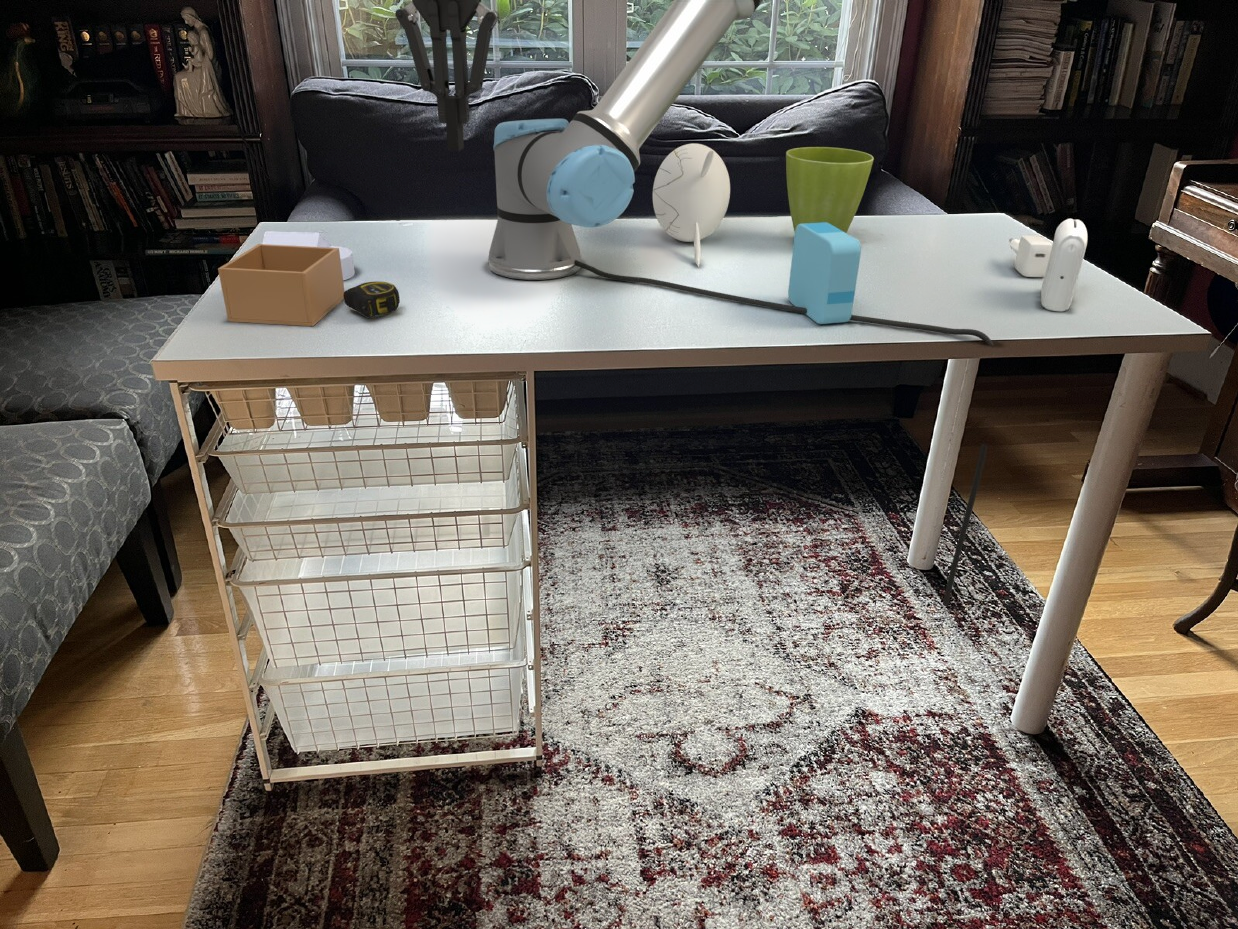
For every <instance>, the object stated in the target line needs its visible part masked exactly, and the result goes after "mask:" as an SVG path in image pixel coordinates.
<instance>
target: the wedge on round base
mask: <svg viewBox="0 0 1238 929" xmlns="http://www.w3.org/2000/svg"><path fill="white" fill-rule="evenodd" d="M261 244H268V245H288V246H308V247H327V248H339V252H340V260H341V268H342V275H343V281H346V280H349V279H351V278H353V277H354V276H355V274H356V272H355V265H354V264H355V263H354V255H353V251H352V250H351V249H350V248H348V247H344V246H336V245H331V244H330V243H329V242H328V241H327V239H326V238H325V237H324V236H323V235H322V233H320V232H311V231H309V232H308V231H272V230H271V231H269V230H268V231H264V235H263V239H262V243H261Z"/></svg>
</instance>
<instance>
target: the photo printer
mask: <svg viewBox="0 0 1238 929" xmlns="http://www.w3.org/2000/svg"><path fill="white" fill-rule="evenodd" d="M1087 246H1088V229H1087V227H1086V225H1085V224H1084V222H1083V221H1082V220H1080V219H1073V218H1067V219H1065V220H1063V221H1062V222H1060V224H1058V226H1057V227H1056V230H1055V233H1054V236H1053V241H1052V249H1051V253H1050V257H1049V261H1048V265H1047V269H1046V273H1045V276H1044V277H1043V280H1042V284H1041V292H1040V300H1041V306H1042V307H1043V308H1044V309H1046V310H1048V311H1052V312H1065V311H1068V310H1069V309H1070V307H1071V305H1072V302H1073V298H1074V294H1075V291H1076V287H1077V283H1078V280H1079V277H1080V272H1081V269H1082V265H1083V261H1084V258H1085V253H1086V249H1087Z"/></svg>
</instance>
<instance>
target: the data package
mask: <svg viewBox="0 0 1238 929" xmlns="http://www.w3.org/2000/svg"><path fill="white" fill-rule="evenodd" d="M792 245H793V246H792V256H791V262H790V264H791V265H790V272H789V281H788V289H787V290H788V291H787V294H788V295H787V296H788V300H789V301H790V303H791V304H792V306H797V307H803V308H806V309H807V313H806V314H805V315H806V316H807V317H809V318H810V319H811V320H813V321H814V322H815V323H816V324H818V325H827V324H840V323H841V324H842V323H848V322H849V321H851V320H850V318H851V315H853V308H854V301H855V294H856V287H857V279H858V274H859V268H860V261H861V256H862V255H861V254H862V247H861V243H860V241H859V240H858V239H857V238H856V237H854V236H852V235H850V234H849V233H848V232H847V233H845V232H843V231H841V230H840V229H838V228H836V227H834V226H833V225H831V224H829V223H827V222H823V223H805V224H799V225H798V226H797V227H796V229H795V233H794V237H793V244H792Z"/></svg>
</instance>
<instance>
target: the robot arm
mask: <svg viewBox="0 0 1238 929" xmlns="http://www.w3.org/2000/svg"><path fill="white" fill-rule="evenodd" d="M763 1H764V0H674V1H672V3H671V4H670V6H669V7H668V9H667V10H666V11H665V13H664V14H663V15H662V17H661V18H660V19H659V21H658V22H657V23H656V25H655V26H654V27H653V29H652V30H651V32H650V33H649V34H648V36H647V37H646V38H645V40H644V41H643V42H642V44H641V45H640V46H639V48H637V50H636V52H635V53H634V55H633V56H632V57H631V58H630V59H629V61H628V62H627V64H626V65H625V66H624V68H623V69H622V70H621V71H620V73H619V74H618V76H617V77H616V78H615V80H614V81H613V82H612V84H611V85H610V86H609V88H608V89H607V90H606V92H605V93H604V95H603V96H602V97H601V98H600V100H599V101H598V103H597V104H596V105H595V106H594V108H593V109H591V110H580V111H578V112H576V113H575V115H574V116H573V118H572V119H571V120H570V122H569V121H568V120H567V119H565V118H540V119H539V118H537V119H522V120H511V121H503V122H500V123H498V124H497V126H496V127H495V129H494V137H493V141H494V142H493V145H492V146H493V148H492V149H493V152H494V153H493V154H494V171H495V190H496V191H495V192H496V207H497V208H496V209H497V221H496V226H495V229H494V232H493V237H492V240H491V244H490V248H489V251H488V256H487V257H488V258H487V259H488V269H489V270H490V271H491V272H493V273H494V274H496V275H497V276H498V275H499V276H501V277H505V278H509V279H516V280H526V281H541V280H553V279H560V278H564V277H567V276H571V275H574V274H575V273H577V272H578V271H580V270H581V268H582V269H583V270H586V271H588V272H591V273H592V274H594V275H597V276H599V277H602V278H606V279H609V280H614V281H620V282H630V283H641V284H648V285H654V286H659V287H663V288H668V289H674V290H676V291H677V290H678V291H683V292H687V293H692V294H696V295H701V296H708V297H711V298H717V299H722V300H726V301H730V302H731V301H732V302H737V303H744V304H747V305H752V306H759V307H763V308H764V307H765V308H771V309H776V310H781V311H788V312H794V313H800V314H804V315H806V313H807V309H806V308H803V307H797V306H795V305H791V304H790V305H789V304H784V303H778V302H773V301H772V302H771V301H766V300H762V299H755V298H750V297H745V296H739V295H734V294H728V293H723V292H718V291H712V290H708V289H704V288H699V287H693V286H688V285H684V284H678V283H674V282H670V281H664V280H659V279H654V278H648V277H641V276H631V275H630V276H629V275H622V274H621V275H620V274H614V273H610V272H606V271H602V270H601V269H598V268H596V267H595V266H592V265H589V264H587V263H584V262H582V254H581V250H580V246H579V244H578V241H577V237H576V235H575V231H574V228H573V226H578V227H581V228H586V229H587V228H588V229H594V228H600V227H604V226H606V225H609V224H610V223H612V222H613V221H615V220H617V219H618V218H619V217H620V216H621V215H622V214H623V213H624V212H625V210H626V209H627V208H628V206H629V204H630V202H631V200H632V198H633V195H634V186H633V184H635V182H636V177H635V172H636V171H637V169H638V168H639V167H640V165H641V156H640V148H641V147H642V145H643V144H644V143H645V142H646V140H647V139H648V137H649V136H650V135H651V133H652V132H653V131H654V129H655V128H656V127H657V125H658V124H659V122H660V121H661V120H662V119H663V117H664V116H665V115H666V114H667V112H668V111H669V110H670V108H671V106H672V105H673V104H674V103H675V101H676V100H677V99H678V97H679V96H680V95H681V93H682V92H683V91H684V89H685V88H686V87H687V85H689V82H690V81H691V80H692V78H693V77H694V76H695V75H696V73H697V72H698V70H699V69H700V68H701V67H702V65H703V64H704V62H705V61H706V60H707V59H708V57H709V56H710V54H711V53H712V52H713V50H714V49H715V48H716V47H717V45H718V44H719V42H720V41H721V39H722V38H723V37H724V36H725V34H727V32H728V30H729V29H730V28H731V26H732V25H733V24H734V22H735V21H743V20H747V19H750V18H751V17H752V16H753V15H754V13H755V12H756V11H757V9H758V8H759V6H760V5H761V4H762V3H763ZM418 13H419V15H420V16H421V17H422V19H423V20H424V22H425V24H426V25H427V26H428V27H429V37H430V39H431V48H432V50H431V51H432V62H433V64H432V65H433V70H432V66H431V63H430V59H429V55H428V52H427V49H426V45H425V42H424V39H423V35H422V32H421V29H420V26H419V23H418V21H419V15H418ZM476 13H477V23H478V25H479V27H478V30H477V33H476V40H475V46H474V53H473V58H472V64H471V70H470V76H469V69H468V68H469V67H468V66H469V65H468V49H467V36H468V35H467V34H468V32H467V28H468V27H469V25H470V24H471V22H472V20H473V18H474V17H475V15H476ZM394 14H395V18H396V19H397V21H398V22H399V24H400V26H401V27H402V28H403V31H404V33H405V36H406V40H407V44H408V47H409V50H410V54H411V56H412V60H413V63H414V67H415V70H416V74H417V76H418V79H419V83H420V87H421V90H422V91H424V92H427V93H431V94H433V95H434V96H435V98H436V104H437V105H436V106H437V119H438V121H439V123H440V124H445V128H446V129H445V130H446V143H447V151H448V152H460V151H461V150H463V149H464V148H465V143H464V141H465V138H464V125H466V124H468V123H469V121H470V118H471V117H470V101H469V100H470V99H469V98H470V96H471V95H473V94H476V93H478V92H480V91H481V90H482V89H483V84H484V79H485V73H486V67H487V62H488V55H489V49H490V45H491V38H492V32H493V30H494V28H495V26H496V24H497V22H498V21H499V19H500V14H499V12H498V11H496V10H492V9H490V8H489V7H488V6H486V5H485V4H484V3H483V2H482V0H411V1H410V2H408V3H407V5H405V6H404V7H402V8H398V9H396V10H395V13H394ZM448 31H449V33H450V34H449V36H450V40H451V49H452V64H453V80H454V81H453V82H454V93H453V95H450V93H451V92H452V89H451V88H450V75H449V60H448V44H447V43H448V42H447V38H448ZM849 321H852V322H859V323H866V324H867V323H868V324H875V325H880V326H881V325H882V326H889V327H896V328H903V329H911V330H918V331H919V330H920V331H926V332H935V333H940V334H946V335H953V336H954V335H955V336H956V335H957V336H973V337H976V338H979V339H980V340H982V341H983V342H984V344H985V345H987V346H994V342H993V341H992V339H991V338H990V337H989V336H988V335H987V334H986V333H984V332H983V331H980V330H977V329H974V328H973V329H972V328H952V327H945V326H940V325H939V326H937V325H931V324H924V323H917V322H916V323H915V322H907V321H900V320H892V319H885V318H879V317H878V318H877V317H870V316H863V315H855V314H852V315H851V318H850V320H849ZM980 445H981V446H980V451H979V456H978V460H977V465H976V469H975V474H974V477H973V481H972V486H971V491H970V493H969V498H968V501H967V506H966V509H965V513H964V516H963V520H962V523H961V528H960V531H959V535H958V540H957V544H956V547H955V551H954V554H953V559H952V562H951V567H950V571H949V574H948V580H947V584H946V589H945V592H944V597H943V601H942V605H943V606H944V607H948V606H949V604H950V600H951V596H952V591H953V586H954V582H955V578H956V574H957V568H958V566H959V561H960V557H961V553H962V550H963V547H964V542H965V538H966V534H967V531H968V528H969V523H970V520H971V516H972V512H973V508H974V504H975V501H976V498H977V493H978V489H979V486H980V482H981V477H982V473H983V470H984V465H985V460H986V455H987V451H988V446H989V445H988V444H985V443H981V444H980Z"/></svg>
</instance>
